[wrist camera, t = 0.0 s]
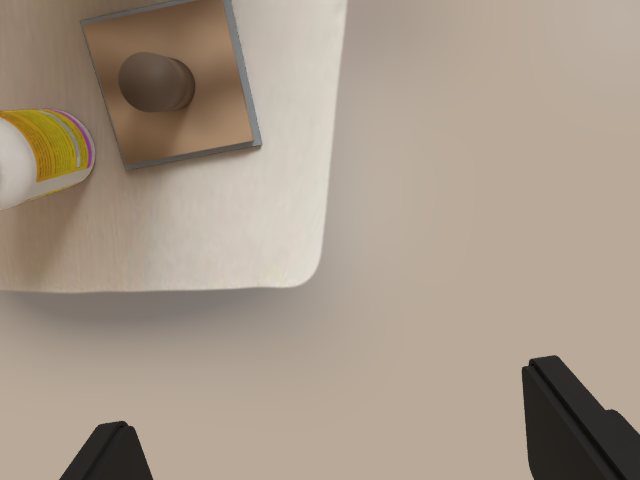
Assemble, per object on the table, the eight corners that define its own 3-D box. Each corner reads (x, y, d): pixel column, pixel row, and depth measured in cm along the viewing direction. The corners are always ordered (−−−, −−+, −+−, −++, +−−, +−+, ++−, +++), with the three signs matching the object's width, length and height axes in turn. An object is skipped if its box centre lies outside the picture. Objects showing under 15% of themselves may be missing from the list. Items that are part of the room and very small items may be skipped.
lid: (87, 26, 37) (45, 13, 31) (222, -3, 36) (202, -21, 31) (129, 163, 40) (97, 174, 34) (254, 139, 39) (241, 146, 34)
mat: (82, 22, 37) (79, 20, 37) (228, -10, 36) (227, -11, 36) (128, 169, 41) (125, 170, 40) (262, 144, 40) (261, 144, 39)
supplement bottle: (50, 91, 39) (-79, 88, 27) (113, 148, 40) (18, 170, 28) (6, 148, 40) (-136, 171, 28) (68, 201, 42) (-41, 245, 29)
